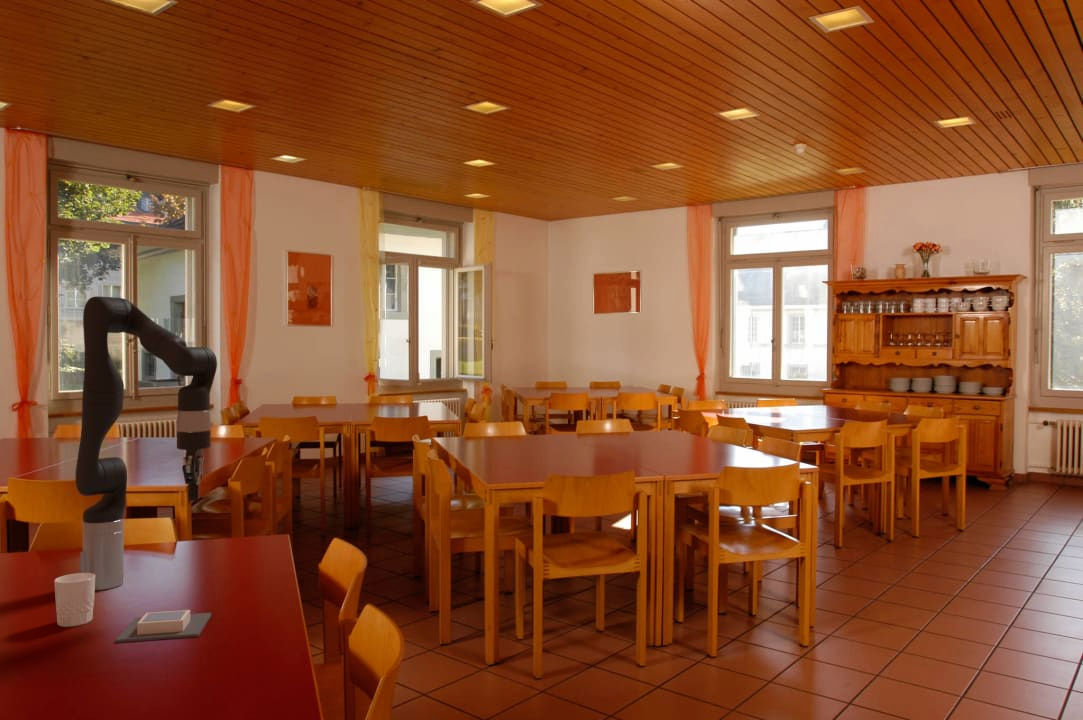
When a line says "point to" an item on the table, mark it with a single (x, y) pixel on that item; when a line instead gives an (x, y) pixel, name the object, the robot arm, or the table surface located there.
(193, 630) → the mat
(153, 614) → the beige flat block
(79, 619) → the white cup
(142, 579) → the table surface
